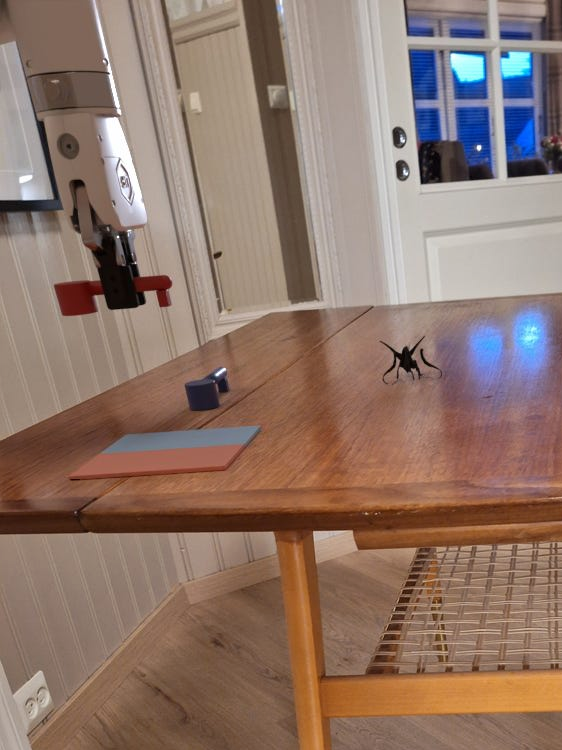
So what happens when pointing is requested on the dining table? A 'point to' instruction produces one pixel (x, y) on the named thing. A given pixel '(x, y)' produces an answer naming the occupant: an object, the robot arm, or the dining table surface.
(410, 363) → the creature
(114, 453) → the mat
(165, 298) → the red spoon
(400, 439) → the dining table surface
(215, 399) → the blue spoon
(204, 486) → the dining table surface
